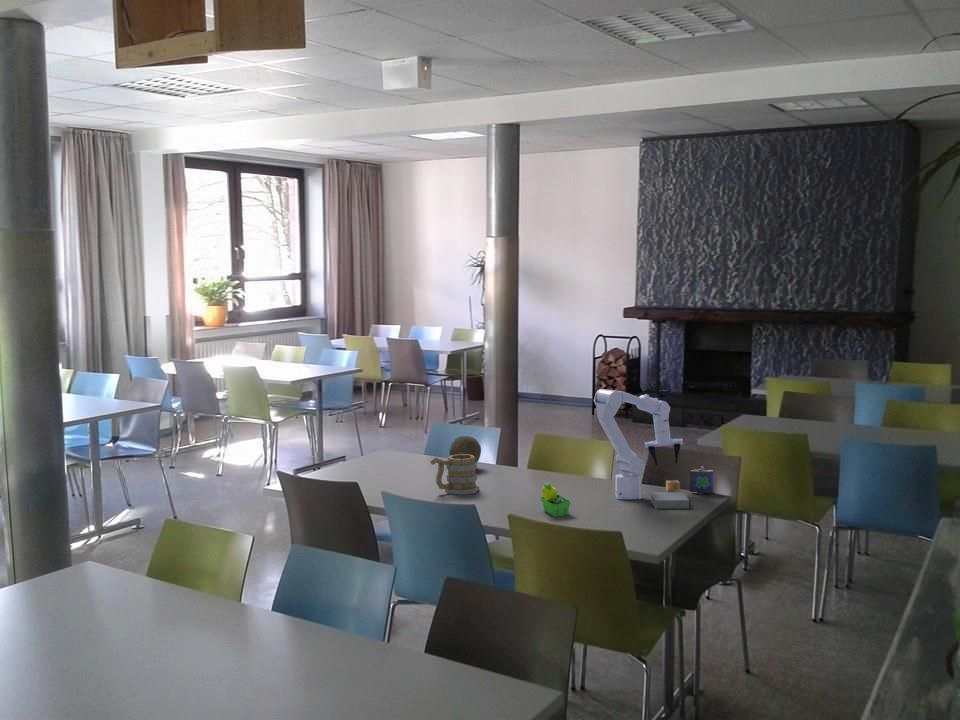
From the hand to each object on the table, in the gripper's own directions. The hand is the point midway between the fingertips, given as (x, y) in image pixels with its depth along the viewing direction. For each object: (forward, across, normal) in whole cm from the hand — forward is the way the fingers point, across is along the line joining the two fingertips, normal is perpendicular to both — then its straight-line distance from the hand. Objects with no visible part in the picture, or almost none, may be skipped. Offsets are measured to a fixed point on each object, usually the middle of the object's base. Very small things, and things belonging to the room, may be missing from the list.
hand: (666, 463), depth 345 cm
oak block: (+10, -1, +10) cm, 14 cm away
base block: (+9, 0, +22) cm, 23 cm away
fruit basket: (+3, +41, +38) cm, 56 cm away
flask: (+12, -12, +4) cm, 18 cm away
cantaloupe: (+4, +88, -30) cm, 93 cm away
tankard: (0, +84, +11) cm, 85 cm away
